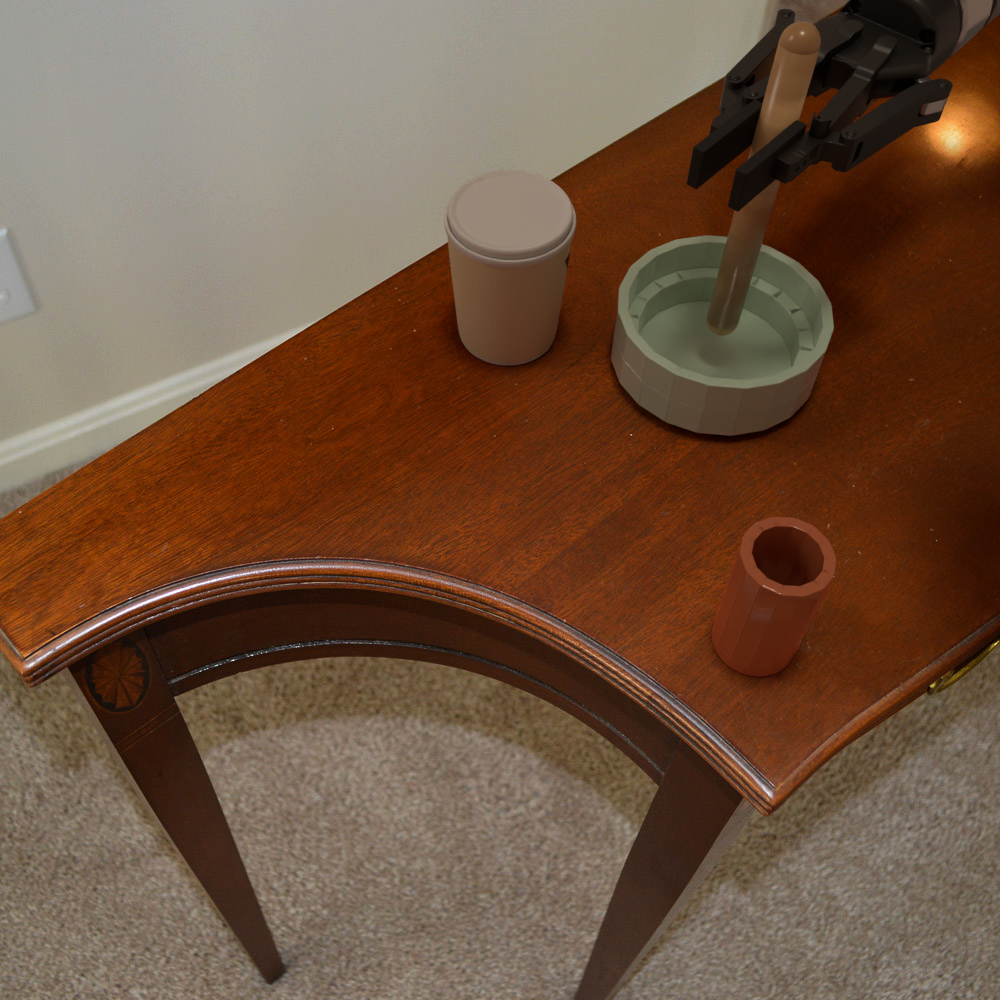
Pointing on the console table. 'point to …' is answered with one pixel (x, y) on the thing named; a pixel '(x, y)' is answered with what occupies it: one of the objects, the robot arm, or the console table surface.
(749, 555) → the crock
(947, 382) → the console table surface
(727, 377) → the bowl
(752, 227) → the stick
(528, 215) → the coffee cup
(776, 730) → the console table surface
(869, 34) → the robot arm
